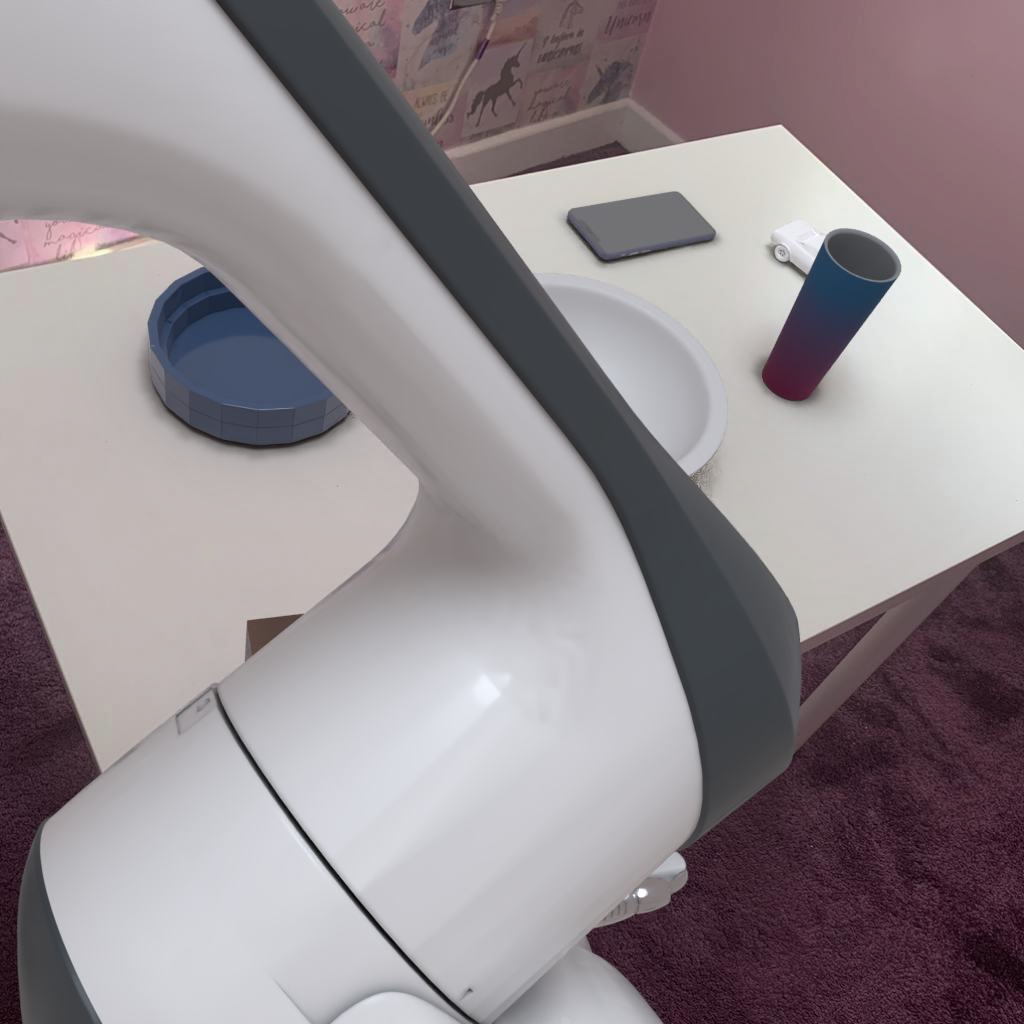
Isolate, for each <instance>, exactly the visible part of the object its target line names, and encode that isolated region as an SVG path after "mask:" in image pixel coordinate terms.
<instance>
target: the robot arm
mask: <svg viewBox="0 0 1024 1024" xmlns="http://www.w3.org/2000/svg"><path fill="white" fill-rule="evenodd" d="M21 220H24V221H25V220H27V221H51V222H69V223H80V224H86V225H93V226H99V227H103V228H110V229H115V230H120V231H125V232H127V233H128V232H129V233H132V234H135V235H138V236H140V237H141V236H142V237H145V238H148V239H150V240H154V241H157V242H161V243H164V244H166V245H168V246H170V247H172V248H174V249H177V250H179V251H180V252H182V253H184V254H185V255H187V256H188V257H190V259H193V260H194V261H196V262H198V263H199V264H200V265H202V267H205V268H206V269H208V270H209V271H210V272H211V273H212V274H213V275H214V276H215V277H216V278H218V279H219V280H220V281H221V282H222V283H223V284H224V285H225V286H226V287H227V288H228V289H229V290H230V291H231V292H232V293H233V294H234V295H235V296H236V297H237V298H238V299H239V300H240V301H241V302H242V303H243V304H244V305H245V306H246V307H247V308H248V309H249V310H250V311H251V312H252V313H253V314H254V315H255V316H256V317H257V318H258V319H259V320H260V321H261V322H262V323H263V324H264V325H265V326H266V327H267V328H268V329H269V330H270V331H271V332H272V333H273V334H274V335H275V336H276V337H277V338H278V339H279V340H280V341H281V342H282V343H283V344H284V345H285V346H286V347H287V348H288V349H289V350H290V351H291V352H292V353H293V354H294V355H295V356H296V357H297V358H298V359H299V360H300V361H301V362H302V363H303V364H304V365H305V366H306V367H307V368H308V369H309V370H310V371H311V372H312V373H313V374H314V375H315V376H316V377H317V378H318V379H319V380H320V381H321V382H322V383H323V384H324V385H325V386H326V387H327V388H328V389H329V390H330V391H331V392H332V393H333V394H334V395H335V396H336V397H337V398H338V399H339V400H340V401H341V402H342V403H343V404H344V405H345V406H346V407H347V408H348V409H349V410H350V411H349V412H351V413H352V414H353V415H354V417H355V418H357V420H359V421H360V423H362V425H364V427H366V428H367V429H368V430H369V431H370V432H371V434H373V435H374V436H375V437H376V438H377V439H378V440H379V441H380V442H381V443H382V444H383V445H384V446H385V448H387V450H388V451H390V452H391V453H392V454H393V455H394V456H395V457H396V459H397V460H399V461H400V462H401V463H402V464H403V465H404V466H405V467H406V468H407V469H408V471H410V472H411V474H413V475H414V476H415V477H416V478H417V479H418V491H417V495H416V498H415V501H414V503H413V505H412V506H411V507H412V508H411V509H410V511H409V513H408V515H407V517H406V519H405V521H404V522H403V524H402V525H401V527H400V528H399V529H398V531H397V532H396V533H395V535H394V536H393V537H392V538H391V539H390V540H389V542H387V544H386V545H385V546H384V547H383V548H382V549H381V550H380V551H379V552H378V553H377V554H376V555H375V556H374V557H373V558H371V559H370V560H369V561H367V562H366V563H365V564H364V565H363V566H362V567H360V568H359V569H358V570H357V571H356V572H354V573H353V574H352V575H350V576H349V577H348V578H347V579H346V580H344V581H343V582H341V584H339V585H338V586H337V587H336V588H335V589H333V590H332V591H331V592H330V593H328V594H327V595H326V596H325V597H323V598H322V599H321V600H320V601H318V602H317V603H316V604H314V605H313V606H312V607H311V608H310V609H308V610H307V611H306V612H304V613H305V614H304V613H303V614H304V615H302V616H301V617H300V618H299V619H297V620H296V621H295V622H294V623H292V624H291V625H290V626H289V627H288V628H286V629H285V630H284V631H283V632H281V633H280V634H279V635H278V636H276V637H275V638H274V639H273V640H271V641H270V642H269V643H268V644H266V645H265V646H264V647H263V648H261V649H260V650H259V651H258V652H257V653H255V654H254V655H253V656H252V657H250V658H249V659H248V660H247V661H245V660H244V662H243V663H241V664H240V665H239V666H238V667H237V668H235V669H234V670H233V671H232V672H231V673H229V674H228V675H226V676H225V677H224V678H223V679H222V680H221V681H219V682H213V683H211V684H210V685H208V686H207V687H206V688H205V689H203V690H202V691H201V692H199V694H197V695H196V696H195V697H194V698H192V699H191V700H190V701H188V702H187V703H186V704H184V706H182V707H181V708H180V709H178V710H177V711H176V712H175V713H174V714H172V715H171V716H170V717H168V718H167V719H166V720H165V721H164V722H162V723H161V724H160V725H158V726H157V727H156V728H155V729H153V730H152V731H151V732H150V733H149V734H147V735H146V736H145V737H143V738H142V739H141V740H140V741H139V742H138V743H136V744H135V745H134V746H133V747H131V748H130V749H129V750H128V751H127V752H126V753H125V754H123V755H122V756H121V757H120V758H118V759H117V760H116V761H115V762H114V763H112V764H111V765H110V766H109V767H108V768H106V769H105V770H104V771H103V772H101V773H100V774H99V775H98V776H97V777H95V778H94V779H93V780H91V782H90V783H88V784H87V785H86V786H85V787H83V788H82V789H81V790H80V791H79V792H78V793H76V795H74V796H73V797H72V798H71V799H70V800H68V801H67V802H66V803H65V804H64V805H63V806H62V807H61V808H60V809H59V810H57V812H55V813H54V814H53V815H51V816H48V817H46V818H45V819H43V821H41V823H40V824H39V825H38V828H37V829H36V832H35V834H34V838H33V840H32V843H31V845H30V848H29V851H28V853H27V854H28V855H27V857H26V861H25V865H24V869H23V873H22V879H21V883H20V890H19V897H18V909H17V917H16V918H17V921H16V923H17V924H16V925H17V926H16V927H17V928H16V929H17V931H16V933H17V934H16V935H17V937H16V938H17V939H16V940H17V941H16V942H17V943H16V944H17V948H16V949H17V976H18V988H19V989H18V992H19V1002H20V1003H19V1004H20V1011H21V1012H20V1013H21V1014H20V1015H21V1022H22V1024H664V1022H663V1021H662V1020H661V1018H660V1017H659V1015H657V1013H656V1012H655V1010H653V1008H652V1007H651V1006H650V1004H649V1003H648V1002H647V1000H645V998H644V997H643V996H642V995H641V993H640V992H639V991H638V989H637V988H636V987H635V986H634V984H633V983H631V982H630V981H629V979H628V978H627V977H625V975H623V974H622V972H620V971H619V969H618V968H616V967H615V966H614V965H612V964H611V963H610V962H608V961H607V960H606V959H604V958H602V957H601V956H599V955H597V954H596V953H594V952H593V950H592V948H591V945H590V943H589V940H588V938H587V935H588V934H589V933H590V932H591V931H592V930H593V929H596V928H600V927H604V926H605V927H606V926H609V925H612V924H616V923H619V922H621V921H625V920H626V919H628V918H631V917H633V916H634V915H639V914H645V913H651V912H653V911H657V910H658V909H661V908H663V907H665V906H667V905H669V903H670V902H671V897H672V895H673V894H674V893H676V892H678V891H680V890H681V889H682V888H683V887H684V886H685V885H686V884H687V882H688V879H689V868H688V866H687V862H686V861H685V859H684V857H683V856H682V854H680V853H679V852H681V851H683V850H685V849H688V848H690V847H691V846H692V845H693V844H695V843H696V842H697V841H698V840H700V839H701V838H702V837H704V835H706V834H707V833H708V832H709V831H711V830H712V829H713V828H715V827H716V826H717V825H719V823H721V822H722V821H723V820H725V819H726V818H727V817H728V816H730V815H731V814H732V813H734V812H735V811H736V810H737V809H738V808H740V807H741V806H742V805H744V804H745V803H746V802H747V801H748V800H750V799H751V798H753V796H755V795H756V794H757V793H759V792H760V791H761V790H763V789H764V788H766V786H767V785H769V784H770V783H771V782H772V781H774V780H775V779H776V778H778V777H779V776H780V775H781V774H783V773H784V772H785V771H786V770H787V769H788V768H789V766H790V765H791V763H792V761H793V758H794V757H793V756H794V754H795V746H796V741H797V734H798V726H799V721H800V708H801V695H802V673H803V671H802V670H803V669H802V667H803V665H802V645H801V632H800V627H799V620H798V616H797V613H796V610H795V608H794V606H793V604H792V603H791V601H790V599H789V597H788V596H787V594H786V592H785V591H784V589H783V588H782V586H781V584H780V583H779V582H778V580H777V578H776V577H775V576H774V574H773V573H772V572H771V570H770V569H769V568H768V566H767V565H766V564H765V562H764V561H763V560H762V559H761V557H760V555H759V554H758V552H757V551H756V550H755V549H754V547H753V546H752V545H751V544H750V543H749V541H748V540H747V539H746V537H745V536H744V535H743V534H742V532H741V531H739V529H738V528H737V526H735V525H734V524H733V523H732V522H731V520H729V518H728V517H727V516H726V515H725V514H724V513H723V512H722V511H721V510H720V509H719V508H718V507H717V506H716V504H714V503H713V501H712V500H711V499H710V498H709V497H708V495H706V493H705V492H704V491H703V490H702V489H701V488H700V486H698V484H697V483H696V482H695V481H694V480H693V479H692V478H691V477H689V476H688V475H687V474H686V472H685V471H684V470H683V469H682V468H681V467H680V466H679V465H678V464H677V462H676V461H675V460H674V459H673V458H672V457H671V456H670V455H669V453H668V452H667V451H666V450H665V449H664V448H663V447H662V445H661V444H660V443H659V442H658V441H657V440H656V438H655V437H654V436H653V435H652V434H651V432H650V431H649V430H648V429H647V428H646V426H645V425H644V424H643V423H642V421H641V420H640V419H639V418H638V416H637V415H636V414H635V413H634V411H633V410H632V409H631V407H630V406H629V405H628V403H627V402H626V401H625V399H624V398H623V397H622V395H621V394H620V392H619V391H618V390H617V388H616V387H615V386H614V384H613V383H612V382H611V380H610V379H609V378H608V376H607V375H606V374H605V372H604V371H603V370H602V368H601V367H600V365H599V364H598V363H597V361H596V360H595V359H594V357H593V356H592V354H591V353H590V352H589V350H588V349H587V348H586V346H585V345H584V343H583V342H582V341H581V339H580V338H579V337H578V335H577V334H576V332H575V331H574V330H573V328H572V327H571V326H570V324H569V323H568V321H567V320H566V319H565V317H564V316H563V315H562V313H561V312H560V310H559V309H558V308H557V306H556V305H555V304H554V302H553V301H552V299H551V298H550V297H549V295H548V294H547V292H546V291H545V290H544V288H543V287H542V286H541V284H540V283H539V281H538V280H537V279H536V277H535V276H534V275H533V273H534V272H533V271H531V269H530V268H529V266H528V265H527V264H526V262H525V261H524V259H523V258H522V257H521V255H520V254H519V252H518V251H517V250H516V247H514V246H513V244H512V243H511V241H510V240H509V238H508V236H506V234H505V233H504V231H503V230H502V229H501V228H500V226H499V225H498V224H497V222H496V220H494V218H493V217H492V215H491V214H490V212H489V211H488V210H487V208H486V207H485V206H484V204H483V203H482V202H481V200H480V199H479V198H478V196H477V195H476V193H475V192H474V191H473V189H472V188H471V186H470V185H469V184H468V182H467V181H466V179H465V178H464V176H463V175H462V174H461V173H460V171H459V169H458V168H457V167H456V165H455V164H454V163H453V162H452V160H451V159H450V158H449V156H448V155H447V153H446V152H445V151H444V149H443V148H442V146H441V145H440V144H439V142H438V141H437V140H436V138H435V137H434V135H433V134H432V133H431V131H430V130H429V128H428V127H427V125H426V124H425V123H424V122H423V120H422V118H421V117H420V115H418V113H417V111H416V110H415V109H414V107H413V106H412V105H411V103H410V102H409V100H408V99H407V98H406V96H405V95H404V93H403V92H402V90H401V89H399V87H398V85H397V84H396V83H395V82H394V80H393V79H392V78H391V76H390V75H389V73H388V72H387V71H386V69H385V68H384V66H383V65H382V64H381V63H380V61H379V60H378V59H377V57H376V56H375V55H374V53H373V52H372V50H371V49H370V48H369V47H368V45H367V44H366V42H365V41H364V40H363V38H362V37H361V36H360V35H359V33H358V32H357V30H356V29H355V28H354V27H353V25H352V24H351V23H350V21H349V20H348V19H347V17H346V16H345V14H343V12H342V11H341V9H340V8H339V7H338V6H337V4H336V3H335V2H334V1H333V0H0V221H21Z"/></svg>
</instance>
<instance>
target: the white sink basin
mask: <svg viewBox="0 0 1024 1024" xmlns="http://www.w3.org/2000/svg"><path fill="white" fill-rule="evenodd" d="M532 273H533V275H534V276H535V277H536V279H537V280H538V281H539V283H540V284H541V286H542V287H543V288H544V290H545V291H546V292H547V294H548V295H549V297H550V298H551V299H552V301H553V302H554V304H555V305H556V306H557V308H558V309H559V310H560V312H561V313H562V315H563V316H564V317H565V319H566V320H567V321H568V323H569V324H570V326H571V327H572V328H573V330H574V331H575V332H576V334H577V335H578V337H579V338H580V339H581V341H582V342H583V343H584V345H585V346H586V348H587V349H588V350H589V352H590V353H591V354H592V356H593V357H594V359H595V360H596V361H597V363H598V364H599V365H600V367H601V368H602V370H603V371H604V372H605V374H606V375H607V376H608V378H609V379H610V380H611V382H612V383H613V384H614V386H615V387H616V388H617V390H618V391H619V392H620V394H621V395H622V397H623V398H624V399H625V401H626V402H627V403H628V405H629V406H630V407H631V409H632V410H633V411H634V413H635V414H636V415H637V416H638V418H639V419H640V420H641V421H642V423H643V424H644V425H645V426H646V428H647V429H648V430H649V431H650V432H651V434H652V435H653V436H654V437H655V438H656V440H657V441H658V442H659V443H660V444H661V445H662V447H663V448H664V449H665V450H666V451H667V452H668V453H669V455H670V456H671V457H672V458H673V459H674V460H675V461H676V462H677V464H678V465H679V466H680V467H681V468H682V469H683V470H684V471H685V472H686V474H687V475H688V476H689V477H690V478H691V477H693V476H694V475H695V474H697V473H698V472H699V471H700V470H702V469H703V468H704V467H705V466H706V465H708V463H709V462H710V461H711V460H712V459H713V457H714V456H715V455H716V453H717V452H718V450H719V448H720V447H721V445H722V443H723V440H724V438H725V436H726V431H727V426H728V421H729V400H728V394H727V390H726V387H725V383H724V380H723V378H722V376H721V373H720V371H719V369H718V367H717V365H716V364H715V362H714V360H713V359H712V357H711V356H710V354H709V352H708V351H707V350H706V349H705V348H704V346H703V345H702V343H701V342H700V341H699V340H698V339H697V338H696V337H695V336H694V335H693V333H691V332H690V330H688V329H687V328H686V327H685V326H684V325H683V324H682V323H680V322H679V321H678V320H677V319H676V318H674V317H673V316H672V315H671V314H670V313H668V312H667V311H665V310H663V309H662V308H661V307H659V306H657V305H656V304H654V303H653V302H651V301H649V300H647V299H645V298H644V297H642V296H640V295H638V294H635V293H633V292H631V291H628V290H627V289H624V288H622V287H619V286H617V285H613V284H611V283H607V282H605V281H601V280H597V279H595V278H594V279H593V278H589V277H587V276H580V275H574V274H566V273H557V272H532Z"/></svg>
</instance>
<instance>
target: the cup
mask: <svg viewBox="0 0 1024 1024" xmlns="http://www.w3.org/2000/svg"><path fill="white" fill-rule="evenodd" d="M825 235H826V237H825V239H824V241H823V243H822V245H821V248H820V250H819V252H818V254H817V256H816V258H815V260H814V262H813V264H812V267H811V269H810V271H809V273H808V275H807V274H806V277H805V279H804V282H803V283H802V286H801V288H800V290H799V293H798V294H797V296H796V299H795V301H794V303H793V305H792V307H791V308H790V311H789V314H788V315H787V318H786V319H785V321H784V323H783V326H782V328H781V330H780V332H779V334H778V337H777V338H776V341H775V343H774V345H773V347H772V349H771V352H770V354H769V356H768V358H767V360H766V363H765V364H764V366H763V368H762V372H761V377H762V381H763V382H764V384H765V385H766V387H767V388H768V389H769V390H770V391H771V392H772V393H774V394H775V395H777V396H778V397H780V398H783V399H785V400H789V401H805V400H806V399H808V398H810V396H811V395H812V394H813V393H814V391H815V390H816V389H817V388H818V386H819V384H821V382H822V381H823V380H824V378H825V377H826V376H827V374H828V373H829V371H830V370H831V368H832V367H833V366H834V365H835V363H836V362H837V361H838V359H839V358H840V356H841V354H843V352H844V351H845V349H847V347H848V346H849V344H850V342H851V341H852V340H853V339H854V337H855V336H856V335H857V333H858V332H859V330H861V328H862V327H863V325H864V324H865V322H866V321H867V320H868V319H869V317H870V316H871V315H872V313H873V312H874V311H875V309H876V307H877V306H878V305H879V304H880V303H881V301H882V300H883V298H884V297H885V296H886V294H887V293H888V292H889V290H890V289H891V287H892V286H893V285H894V283H895V282H897V279H898V278H899V277H900V275H901V272H902V263H901V260H900V258H899V257H898V255H897V253H896V252H895V251H894V250H893V248H891V246H889V245H888V244H887V243H886V242H884V240H881V239H880V238H878V237H877V236H876V235H873V234H871V233H868V232H865V231H863V230H860V229H856V228H850V227H849V228H848V227H845V228H844V227H842V228H836V229H833V230H831V231H829V232H828V233H827V234H825Z"/></svg>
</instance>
